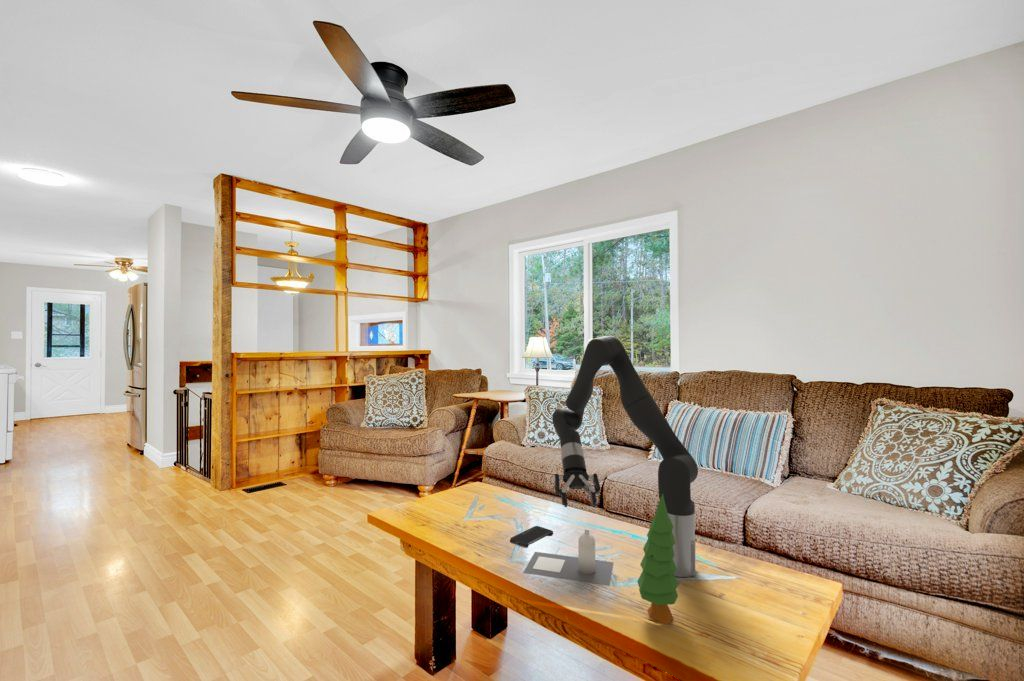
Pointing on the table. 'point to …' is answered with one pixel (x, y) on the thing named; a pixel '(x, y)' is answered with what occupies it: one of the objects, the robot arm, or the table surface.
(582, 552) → the white rounded cylinder
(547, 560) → the mat
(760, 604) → the table surface
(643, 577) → the decorative tree
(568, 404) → the robot arm
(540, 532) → the phone
